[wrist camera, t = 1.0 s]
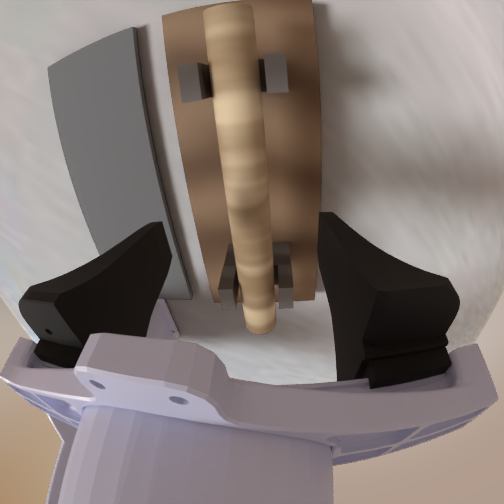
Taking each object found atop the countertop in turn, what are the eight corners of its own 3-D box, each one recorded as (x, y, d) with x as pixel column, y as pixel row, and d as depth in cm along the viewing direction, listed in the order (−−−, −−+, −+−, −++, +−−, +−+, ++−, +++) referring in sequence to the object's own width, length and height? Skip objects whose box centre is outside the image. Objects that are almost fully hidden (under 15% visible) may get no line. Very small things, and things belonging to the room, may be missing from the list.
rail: (275, 310, 23) (275, 333, 21) (246, 311, 23) (244, 334, 21) (254, 12, 10) (251, 0, 8) (208, 18, 10) (197, 8, 8)
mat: (192, 295, 28) (191, 299, 28) (122, 294, 29) (120, 297, 29) (135, 27, 13) (132, 26, 13) (51, 67, 14) (47, 67, 14)
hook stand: (313, 293, 27) (320, 345, 22) (215, 295, 28) (204, 346, 23) (309, 2, 12) (327, -30, 7) (166, 18, 13) (124, -1, 8)
